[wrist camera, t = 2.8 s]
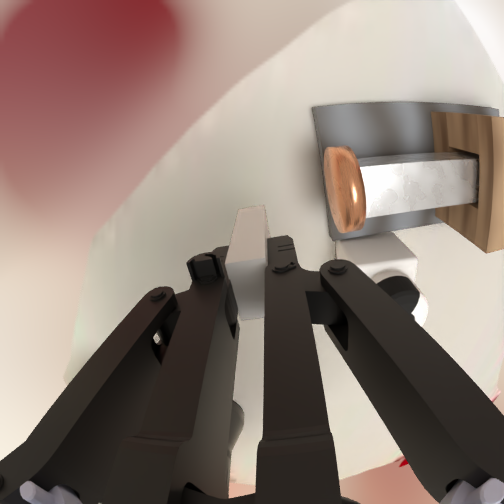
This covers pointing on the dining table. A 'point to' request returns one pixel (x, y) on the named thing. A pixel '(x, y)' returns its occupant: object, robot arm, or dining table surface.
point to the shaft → (396, 183)
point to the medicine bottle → (387, 268)
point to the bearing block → (424, 141)
